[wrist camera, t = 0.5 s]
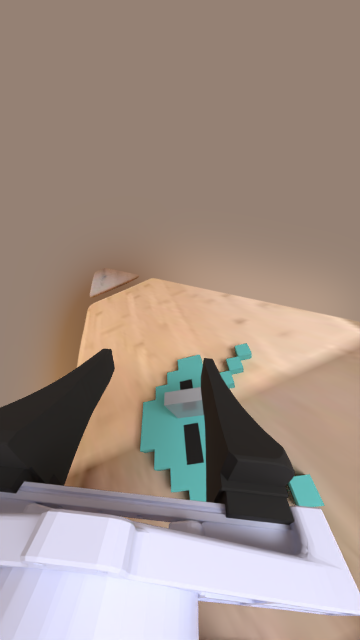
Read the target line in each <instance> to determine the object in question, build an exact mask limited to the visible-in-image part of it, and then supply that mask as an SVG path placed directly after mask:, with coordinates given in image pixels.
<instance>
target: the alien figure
mask: <svg viewBox="0 0 360 640" xmlns="http://www.w3.org/2000/svg"><path fill="white" fill-rule="evenodd" d="M235 352H236V354H237V357H233V358H229V359H226V361H227V365H228V368H229V371H225V372H221V373H220V375H221V377H222V378H223V380H224V382H225V383H226V385H227V386H228V388H234V387H235V385H234V381H233V378H232V374H237V373H241V372H243V366H242V363H241V360H245V359H250V358H251V351H250V349H249V347H248V345H247V343H245V344H241V345H237V346H235ZM202 367H203V364H202V359H201V357H200V355H196V356H192V357H188V358H184V359H179V360H178V370H177V371H173V372H169V373H167V382H168V384H167V385H163V386H158V387H156V400H152V401H148V402H143V417H142V431H141V445H140V451H141V452H144V453H147V452H153V451H155V459H154V470H157V471H161V470H168V469H170V471H171V492H180V491H187V490H189V494H190V500H193V501H202V502H206V444H205V421H204V415H201V416H193V417H185V418H177V417H176V416H175V415H174V414H173V413H172V412H171V411H170V410H169V409H168V408H166V407H165V406H164V399H165V393H166V392H172V391H179V390H185V389H192V388H198V387H201V372H202ZM288 485H289V488H290V490H291V493H292V495H293V498H294V500H295V503H296V505H297V506H306V507H316V506H325V505H324V503H323V501H322V499H321V497H320V495H319V493H318V491H317V489H316V487H315V485H314V483H313V480H312V478H311V476H310V474H309V475H302V476H294V477H293V479H292V480H291V481H290V482H289V483H288Z"/></svg>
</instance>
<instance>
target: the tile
mask: <svg viewBox="0 0 360 640" xmlns="http://www.w3.org/2000/svg"><path fill="white" fill-rule="evenodd" d="M164 406H165V407H166V408H168V409H169V410H170V411H171V412H172V413H173V414H174V415H175V416H176V417H177V418H185V417H193V416H201V415H204V412H203V404H202V396H201V387H198V388H192V389H185V390H179V391H172V392H166V393H165V399H164Z"/></svg>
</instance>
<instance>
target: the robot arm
mask: <svg viewBox="0 0 360 640" xmlns="http://www.w3.org/2000/svg"><path fill="white" fill-rule="evenodd" d="M114 369H115V367H114V361H113V356H112V350H111V349H102V350H101V351H100V352H98V353H97V354H96V355H94V356H93V357H92V358H90V359H89V360H87V361H86V362H85V363H83V364H82V365H80V366H79V367H78V368H76V369H75V370H73V371H72V372H70V373H68V374H67V375H66V376H64V377H62V378H61V379H59V380H57V381H56V382H54V383H52V384H50V385H48V386H47V387H44V388H43V389H41V390H39V391H37V392H35V393H33V394H31V395H28V396H26V397H24V398H22V399H20V400H18V401H15V402H13V403H10V404H8V405H6V406H3V407H1V408H0V640H199V631H198V601H206V602H215V603H225V604H234V605H244V606H253V607H262V608H271V609H281V610H290V611H298V612H307V613H315V614H323V615H332V616H360V593H359V590H358V588H357V586H356V584H355V582H354V580H353V577H352V575H351V573H350V571H349V569H348V566H347V564H346V562H345V560H344V558H343V556H342V553H341V551H340V549H339V547H338V545H337V543H336V540H335V538H334V536H333V534H332V532H331V529H330V527H329V525H328V523H327V521H326V519H325V516H324V514H323V512H322V510H321V509H320V508H315V507H306V506H290V507H289V504H288V501H287V498H288V493H287V490H286V487H285V486H286V485H287V484H288V483H289V482H290V481H291V480H292V479H293V477H294V475H295V472H294V469H293V467H292V464H291V462H290V460H289V458H288V456H287V454H286V452H285V450H284V448H283V447H282V446H281V445H280V444H278V443H277V442H276V441H275V440H274V439H273V438H272V437H271V436H270V435H268V434H267V433H266V432H265V431H264V430H263V429H262V428H261V427H260V426H259V425H258V424H257V423H256V422H255V421H254V419H253V418H252V417H251V416H250V415H249V414H248V413H247V412H246V411H245V409H244V408H243V407H242V406H241V404H240V403H239V402H238V401H237V399H236V398H235V397H234V395H233V394H232V392H231V391H230V389H229V388H228V386H227V385H226V383H225V382H224V380H223V378H222V377H221V375H220V373H219V371H218V369H217V367H216V365H215V363H214V361H213V359H208V358H204V362H203V367H202V372H201V396H202V404H203V412H204V421H205V444H206V502H202V501H193V500H184V499H176V498H167V497H158V496H149V495H140V494H131V493H122V492H114V491H105V490H96V489H87V488H78V487H69V486H64V484H65V481H66V478H67V476H68V473H69V470H70V467H71V464H72V461H73V459H74V456H75V454H76V451H77V448H78V446H79V443H80V441H81V438H82V436H83V433H84V431H85V429H86V426H87V424H88V422H89V419H90V417H91V415H92V413H93V411H94V409H95V407H96V405H97V403H98V402H99V400H100V398H101V396H102V394H103V393H104V391H105V389H106V387H107V385H108V383H109V382H110V379H111V377H112V374H113V372H114ZM120 516H121V517H120ZM123 517H130V518H139V519H147V520H156V521H164V522H171V523H170V524H169V529H168V528H163V527H158V526H154V525H149V524H144V523H139V522H134V521H130V520H129V519H126V518H123Z"/></svg>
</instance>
